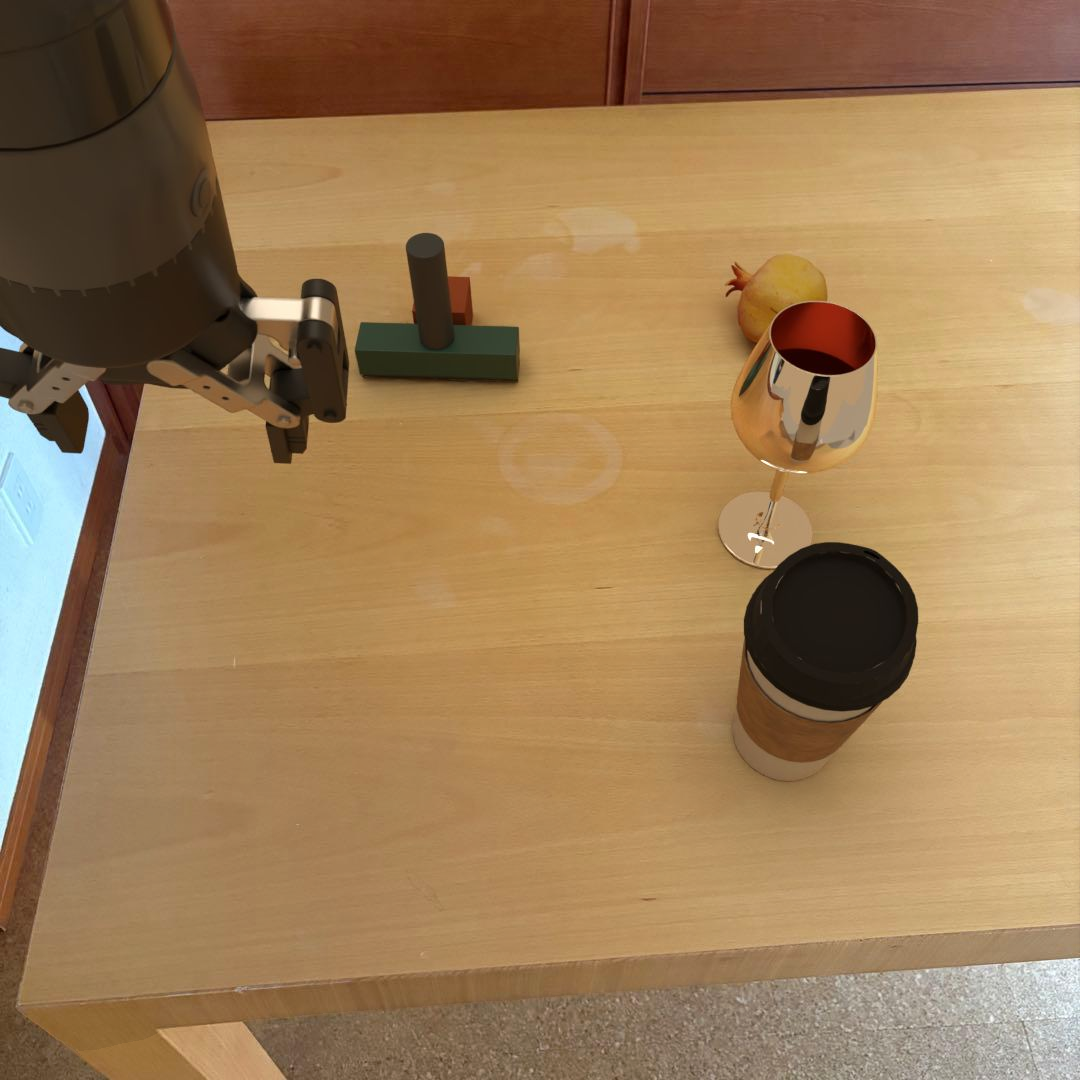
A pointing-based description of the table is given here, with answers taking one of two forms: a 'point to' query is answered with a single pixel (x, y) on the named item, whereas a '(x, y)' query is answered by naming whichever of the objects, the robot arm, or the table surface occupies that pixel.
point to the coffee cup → (820, 655)
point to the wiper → (436, 332)
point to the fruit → (774, 291)
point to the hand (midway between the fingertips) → (182, 439)
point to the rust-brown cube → (458, 301)
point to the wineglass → (798, 419)
